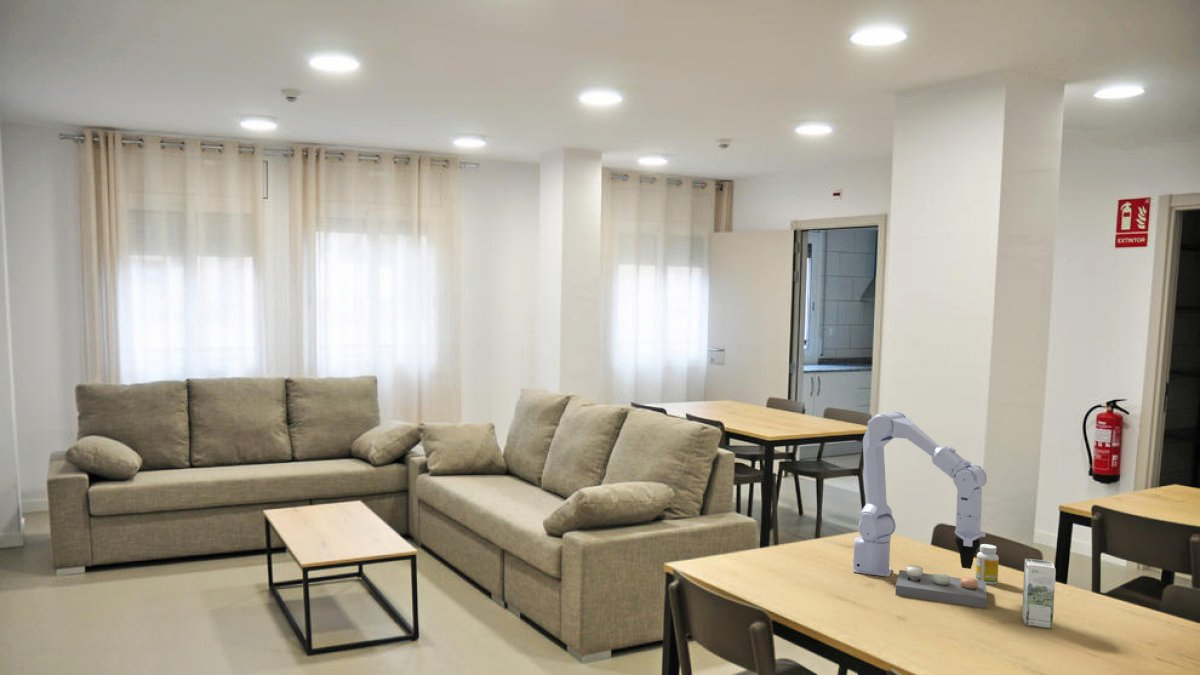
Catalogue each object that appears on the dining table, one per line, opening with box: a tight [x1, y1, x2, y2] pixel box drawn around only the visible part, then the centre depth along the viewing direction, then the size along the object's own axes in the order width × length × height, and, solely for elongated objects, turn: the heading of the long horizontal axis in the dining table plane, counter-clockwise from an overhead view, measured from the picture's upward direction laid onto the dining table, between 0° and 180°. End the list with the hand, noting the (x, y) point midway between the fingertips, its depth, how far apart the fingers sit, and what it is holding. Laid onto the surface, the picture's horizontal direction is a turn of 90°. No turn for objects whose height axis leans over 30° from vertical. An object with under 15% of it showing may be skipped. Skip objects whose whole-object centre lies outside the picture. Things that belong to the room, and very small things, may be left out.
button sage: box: [933, 573, 951, 586], centre depth 217 cm, size 4×4×4 cm
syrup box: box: [1021, 558, 1057, 630], centre depth 197 cm, size 6×6×14 cm
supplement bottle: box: [975, 543, 1000, 585], centre depth 228 cm, size 5×5×10 cm
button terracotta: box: [960, 576, 978, 589], centre depth 215 cm, size 4×4×4 cm
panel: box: [895, 569, 988, 609], centre depth 217 cm, size 21×14×2 cm, turn 67°
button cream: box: [905, 564, 924, 582], centre depth 220 cm, size 4×4×4 cm
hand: (966, 567), depth 215 cm, fingers closed
